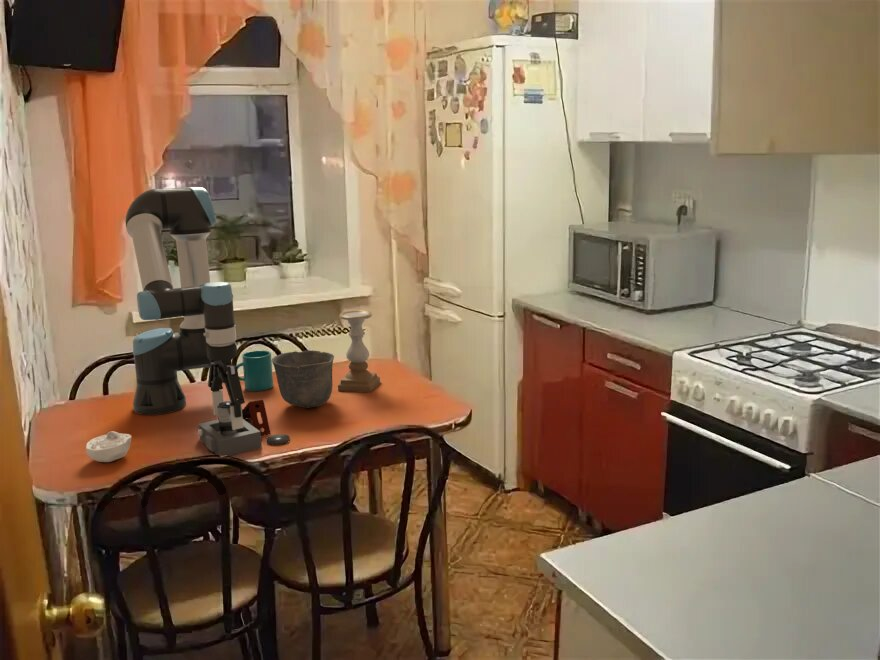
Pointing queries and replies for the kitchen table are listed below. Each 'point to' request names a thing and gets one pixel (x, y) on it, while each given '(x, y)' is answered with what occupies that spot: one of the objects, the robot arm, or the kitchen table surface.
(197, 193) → the robot arm
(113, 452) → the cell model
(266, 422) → the bracket
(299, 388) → the bowl
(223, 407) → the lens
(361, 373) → the candle holder
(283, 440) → the lens cap
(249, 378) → the cup
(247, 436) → the grey square tray
